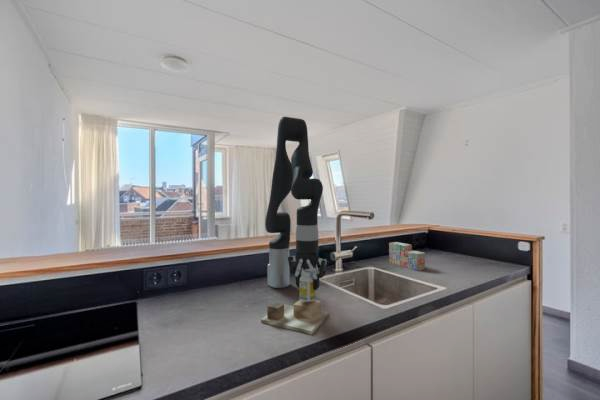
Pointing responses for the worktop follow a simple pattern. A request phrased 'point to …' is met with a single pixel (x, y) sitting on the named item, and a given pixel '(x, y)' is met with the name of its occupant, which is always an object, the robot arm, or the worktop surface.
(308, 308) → the oak pedestal
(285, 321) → the birch board
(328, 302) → the worktop surface
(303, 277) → the supplement bottle
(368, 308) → the worktop surface
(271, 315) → the walnut block
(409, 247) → the stack of blocks
